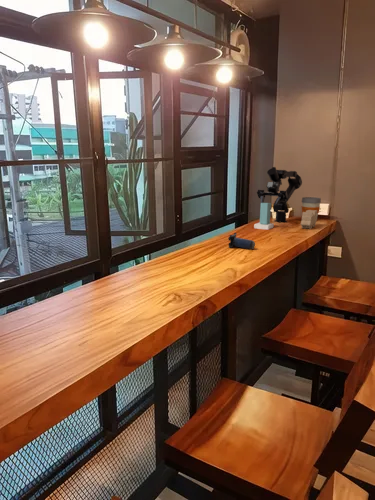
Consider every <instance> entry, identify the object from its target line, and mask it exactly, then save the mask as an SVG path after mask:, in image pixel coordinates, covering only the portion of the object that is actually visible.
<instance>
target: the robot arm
mask: <svg viewBox="0 0 375 500" xmlns="http://www.w3.org/2000/svg"><path fill="white" fill-rule="evenodd" d="M266 173H267V175H268V178H269V180H270V181H267V182H266V187H265V188H266V189H267V191H265V189H257V191H256V194H257V197H258V199H260V204H261V203H265V198H266V196H270V197H277V198H276V200H275V201H274V203H273V205H272V209H273V213H275V219H274V220H273V222H277V223H278V222H279V223H285V222H288V220H287V214H288V213H289V211H290V210H289V207H288V202H289V200H290V198H291V197H292V195H293V194H294V192H295V190H298V189H300V187H301V186H302V184H303V179H302V177H301V176H300V175H299V174H298V172H297V171H295V170H286V169H277V168H276V166H272V167H271V168H269V169H268V170H267V172H266ZM285 179H287V183H288V187H287V188H286V189H285V190H280V187H281V186H282V185H283V183H282V180H285Z"/></svg>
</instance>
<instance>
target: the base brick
mask: <svg viewBox="0 0 375 500" xmlns="http://www.w3.org/2000/svg"><path fill="white" fill-rule="evenodd" d="M253 228H254V229H258V230H272V229H273V228H274V222H273V223H272V222H270V224H260V221H259V222H257V223H254V225H253Z"/></svg>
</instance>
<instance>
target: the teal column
mask: <svg viewBox="0 0 375 500" xmlns="http://www.w3.org/2000/svg"><path fill="white" fill-rule="evenodd" d="M259 210H260V211H259V222H260V224H270V223H271V211H272V203H271V202H263V203H261V202H260V209H259Z"/></svg>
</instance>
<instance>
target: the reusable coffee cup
mask: <svg viewBox="0 0 375 500" xmlns="http://www.w3.org/2000/svg"><path fill="white" fill-rule="evenodd" d="M321 203H322V202H321V197H314V196H313V197H312V196H311V197H310V196H308V197H307V196H304V197H302V198H301V213H303V212H306V211H307V210H317V217H316V221H317V220H318V215H319V213H320V209H321Z"/></svg>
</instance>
